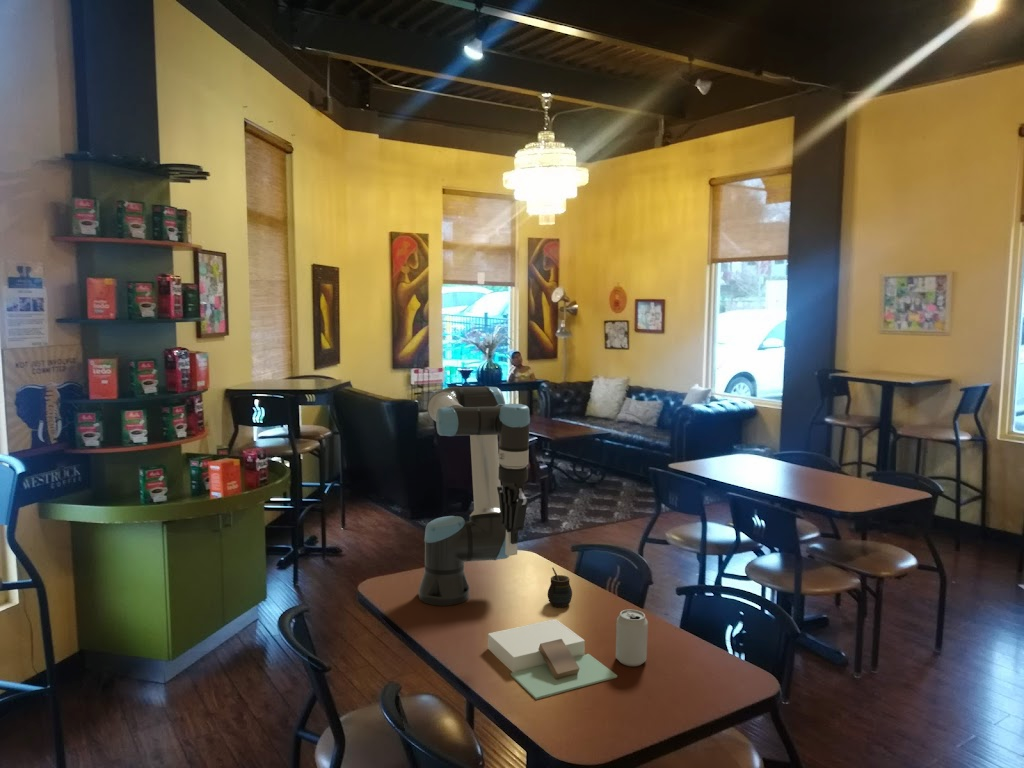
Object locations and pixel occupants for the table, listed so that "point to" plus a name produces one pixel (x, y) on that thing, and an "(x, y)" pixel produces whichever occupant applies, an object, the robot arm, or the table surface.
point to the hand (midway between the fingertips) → (511, 554)
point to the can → (631, 637)
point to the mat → (544, 683)
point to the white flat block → (531, 643)
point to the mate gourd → (559, 590)
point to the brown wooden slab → (558, 659)
